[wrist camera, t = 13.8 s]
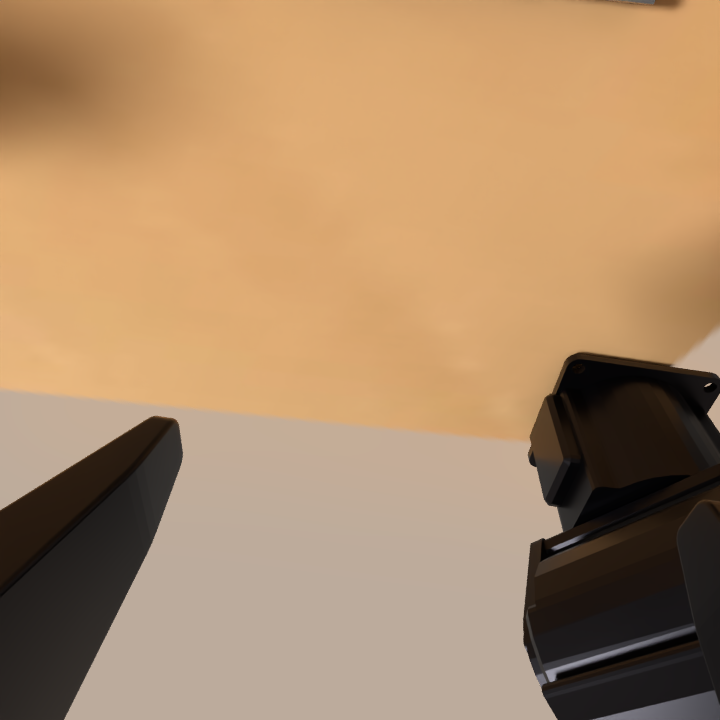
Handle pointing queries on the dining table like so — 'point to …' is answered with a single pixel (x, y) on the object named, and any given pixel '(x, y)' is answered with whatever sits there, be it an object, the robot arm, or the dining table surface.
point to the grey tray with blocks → (636, 1)
